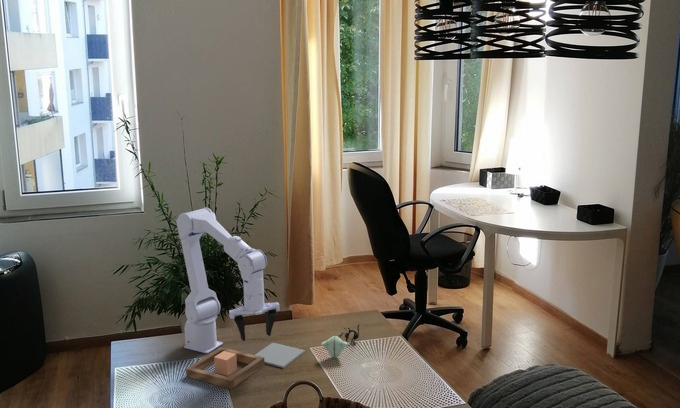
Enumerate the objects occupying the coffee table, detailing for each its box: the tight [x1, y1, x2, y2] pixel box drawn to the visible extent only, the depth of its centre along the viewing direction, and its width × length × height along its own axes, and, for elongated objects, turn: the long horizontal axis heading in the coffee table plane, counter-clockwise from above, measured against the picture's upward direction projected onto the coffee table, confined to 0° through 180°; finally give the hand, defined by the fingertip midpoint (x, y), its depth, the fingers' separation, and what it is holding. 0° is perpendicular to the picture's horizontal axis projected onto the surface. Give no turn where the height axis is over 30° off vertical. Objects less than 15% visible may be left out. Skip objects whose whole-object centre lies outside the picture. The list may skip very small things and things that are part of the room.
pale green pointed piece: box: [320, 335, 349, 359], centre depth 205 cm, size 8×4×7 cm, turn 86°
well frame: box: [185, 346, 266, 390], centre depth 198 cm, size 16×16×2 cm
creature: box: [337, 324, 360, 344], centre depth 216 cm, size 8×5×8 cm
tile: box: [254, 342, 306, 369], centre depth 207 cm, size 12×12×1 cm
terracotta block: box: [213, 351, 238, 377], centre depth 197 cm, size 4×4×5 cm
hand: (255, 336), depth 197 cm, fingers open, 7 cm apart
